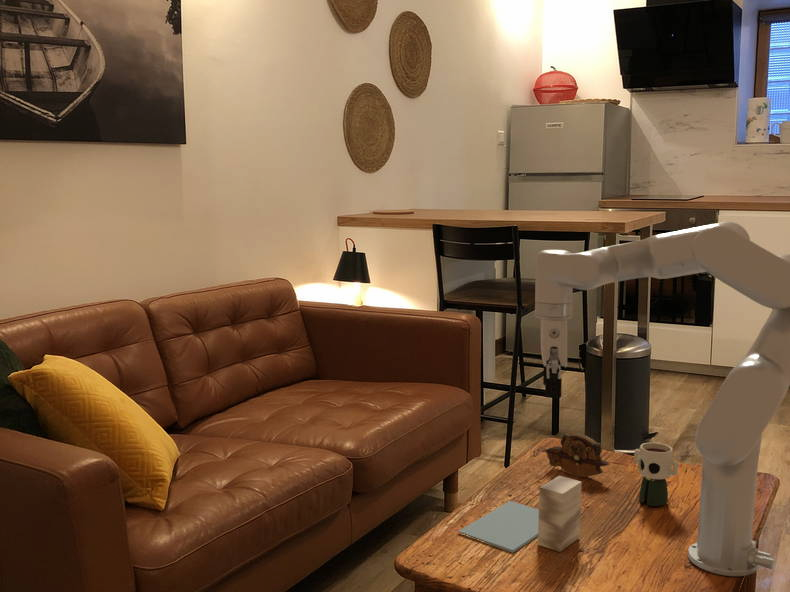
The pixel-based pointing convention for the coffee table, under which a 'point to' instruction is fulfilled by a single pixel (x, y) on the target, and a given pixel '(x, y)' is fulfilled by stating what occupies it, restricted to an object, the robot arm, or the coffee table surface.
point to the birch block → (559, 513)
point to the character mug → (655, 471)
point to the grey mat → (506, 526)
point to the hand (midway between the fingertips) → (552, 390)
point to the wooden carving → (577, 456)
